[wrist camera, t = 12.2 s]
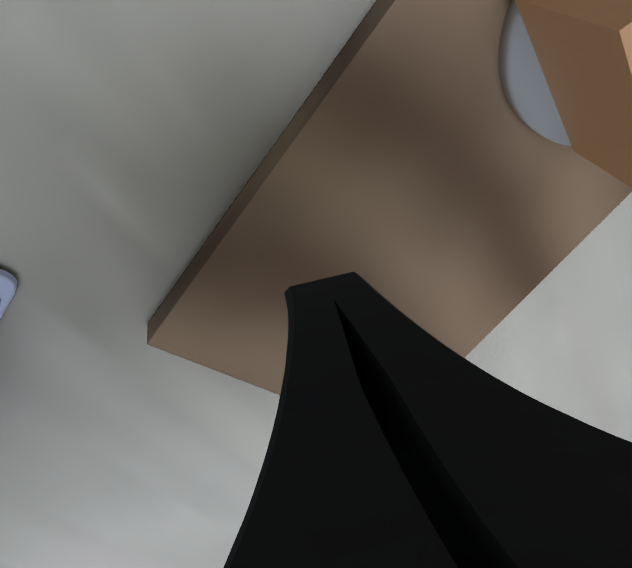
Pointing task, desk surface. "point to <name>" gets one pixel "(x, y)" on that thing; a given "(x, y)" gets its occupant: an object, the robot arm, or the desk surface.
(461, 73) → the hub board
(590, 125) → the collar
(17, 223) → the desk surface
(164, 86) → the desk surface
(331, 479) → the robot arm
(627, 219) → the desk surface
